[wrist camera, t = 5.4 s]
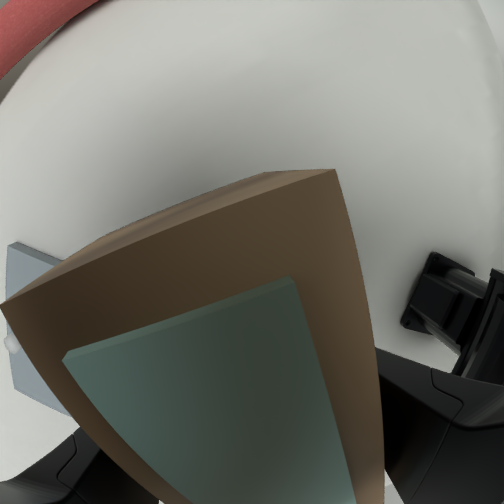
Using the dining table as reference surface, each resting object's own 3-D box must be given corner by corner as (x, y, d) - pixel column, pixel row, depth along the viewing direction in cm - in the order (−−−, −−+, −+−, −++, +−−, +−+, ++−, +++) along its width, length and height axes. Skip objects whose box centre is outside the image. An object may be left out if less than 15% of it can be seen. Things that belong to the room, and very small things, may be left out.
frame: (264, 172, 8) (344, 168, 3) (337, 414, 11) (386, 510, 6) (102, 236, 8) (-11, 312, 3) (227, 451, 11) (238, 554, 6)
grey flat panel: (249, 322, 20) (254, 347, 17) (197, 445, 22) (197, 471, 19) (16, 241, 16) (-9, 252, 13) (19, 381, 19) (5, 401, 16)
